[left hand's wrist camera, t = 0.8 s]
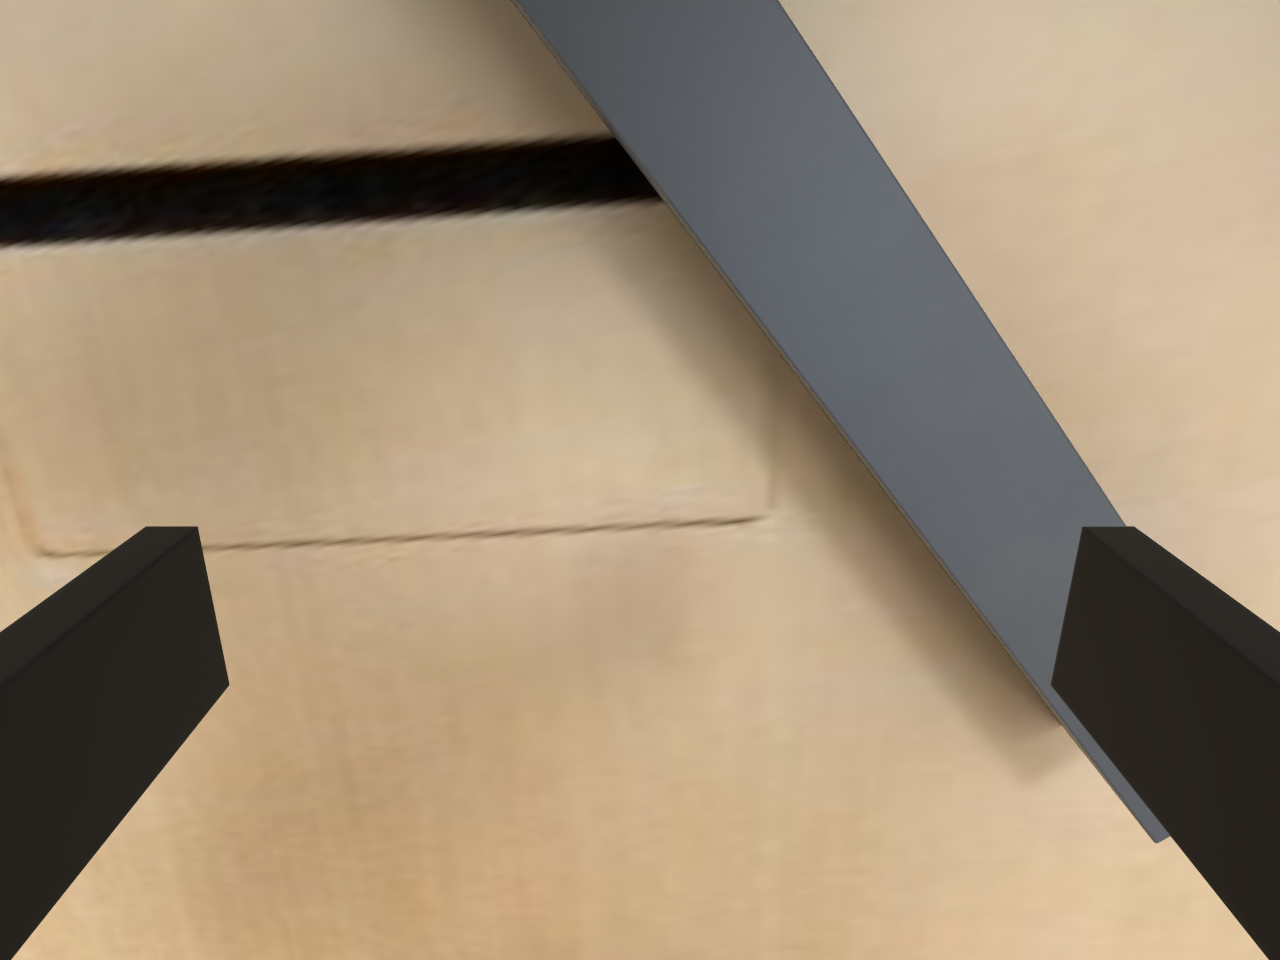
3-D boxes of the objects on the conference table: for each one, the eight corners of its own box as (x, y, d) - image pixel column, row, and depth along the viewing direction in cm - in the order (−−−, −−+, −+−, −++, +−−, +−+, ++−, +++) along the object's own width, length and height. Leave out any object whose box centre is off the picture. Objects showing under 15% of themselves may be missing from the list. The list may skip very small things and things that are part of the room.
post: (204, -404, 26) (42, -625, 19) (332, -559, 25) (211, -857, 17) (1063, 727, 40) (1156, 845, 33) (1169, 663, 39) (1288, 770, 32)
